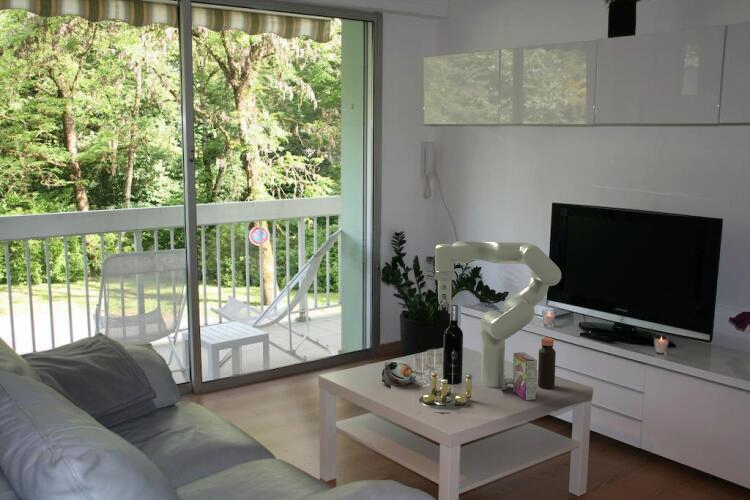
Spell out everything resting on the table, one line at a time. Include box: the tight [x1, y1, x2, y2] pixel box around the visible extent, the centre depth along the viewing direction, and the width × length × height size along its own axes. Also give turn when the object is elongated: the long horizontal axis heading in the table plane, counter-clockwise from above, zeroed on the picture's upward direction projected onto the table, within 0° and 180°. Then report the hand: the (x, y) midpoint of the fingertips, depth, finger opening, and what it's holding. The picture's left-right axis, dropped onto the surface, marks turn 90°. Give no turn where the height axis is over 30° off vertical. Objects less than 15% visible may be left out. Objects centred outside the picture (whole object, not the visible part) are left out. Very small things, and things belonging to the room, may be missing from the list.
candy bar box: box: [512, 351, 538, 401], centre depth 308 cm, size 11×5×16 cm, turn 17°
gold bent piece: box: [455, 373, 473, 405], centre depth 297 cm, size 9×4×10 cm, turn 144°
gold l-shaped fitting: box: [422, 378, 448, 404], centre depth 295 cm, size 9×4×10 cm, turn 67°
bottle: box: [537, 337, 557, 390], centre depth 320 cm, size 7×7×20 cm
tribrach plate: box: [418, 392, 472, 415], centre depth 300 cm, size 20×20×3 cm
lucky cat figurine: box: [381, 359, 418, 388], centre depth 322 cm, size 15×12×14 cm
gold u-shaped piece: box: [430, 372, 452, 396], centre depth 304 cm, size 9×4×10 cm, turn 128°
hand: (444, 317), depth 312 cm, fingers open, 9 cm apart
